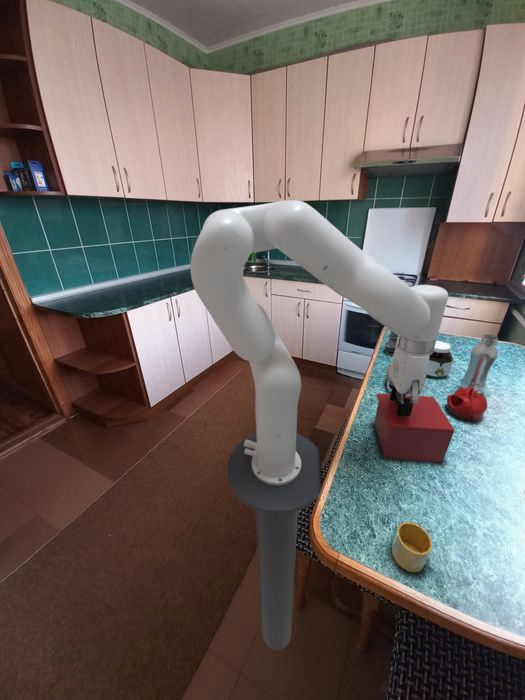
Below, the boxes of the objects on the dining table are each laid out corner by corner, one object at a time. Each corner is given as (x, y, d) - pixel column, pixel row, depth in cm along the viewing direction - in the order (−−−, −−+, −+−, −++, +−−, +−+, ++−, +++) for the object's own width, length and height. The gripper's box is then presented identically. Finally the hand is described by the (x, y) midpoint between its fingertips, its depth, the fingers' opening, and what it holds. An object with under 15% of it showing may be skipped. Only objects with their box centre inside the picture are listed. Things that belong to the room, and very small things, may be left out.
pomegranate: (480, 407, 89) (491, 382, 84) (485, 428, 81) (496, 401, 77) (443, 398, 93) (451, 374, 89) (444, 417, 85) (453, 391, 81)
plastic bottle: (486, 398, 93) (509, 342, 83) (463, 396, 94) (483, 341, 84) (476, 386, 98) (497, 333, 89) (454, 385, 99) (473, 332, 90)
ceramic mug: (386, 376, 105) (390, 358, 101) (411, 382, 101) (416, 363, 97) (381, 392, 97) (385, 373, 93) (408, 399, 93) (413, 379, 89)
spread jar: (418, 376, 104) (425, 348, 99) (413, 361, 114) (420, 334, 109) (455, 381, 101) (465, 352, 96) (447, 365, 111) (456, 338, 106)
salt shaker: (399, 356, 118) (405, 329, 112) (383, 355, 119) (388, 328, 114) (397, 350, 123) (403, 324, 117) (382, 348, 124) (387, 322, 119)
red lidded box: (384, 457, 72) (391, 428, 68) (374, 423, 84) (379, 396, 79) (442, 463, 71) (453, 432, 66) (424, 427, 82) (432, 399, 77)
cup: (391, 564, 51) (397, 546, 49) (392, 535, 56) (397, 517, 53) (425, 578, 50) (433, 560, 47) (423, 546, 54) (430, 528, 51)
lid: (387, 427, 68) (391, 411, 66) (376, 395, 79) (379, 380, 77) (453, 432, 66) (460, 415, 64) (432, 399, 77) (437, 383, 75)
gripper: (388, 326, 72) (376, 387, 80) (409, 360, 57) (392, 430, 65) (420, 327, 71) (405, 388, 79) (450, 362, 56) (427, 433, 64)
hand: (399, 407), depth 72 cm, fingers closed on lid, 5 cm apart
